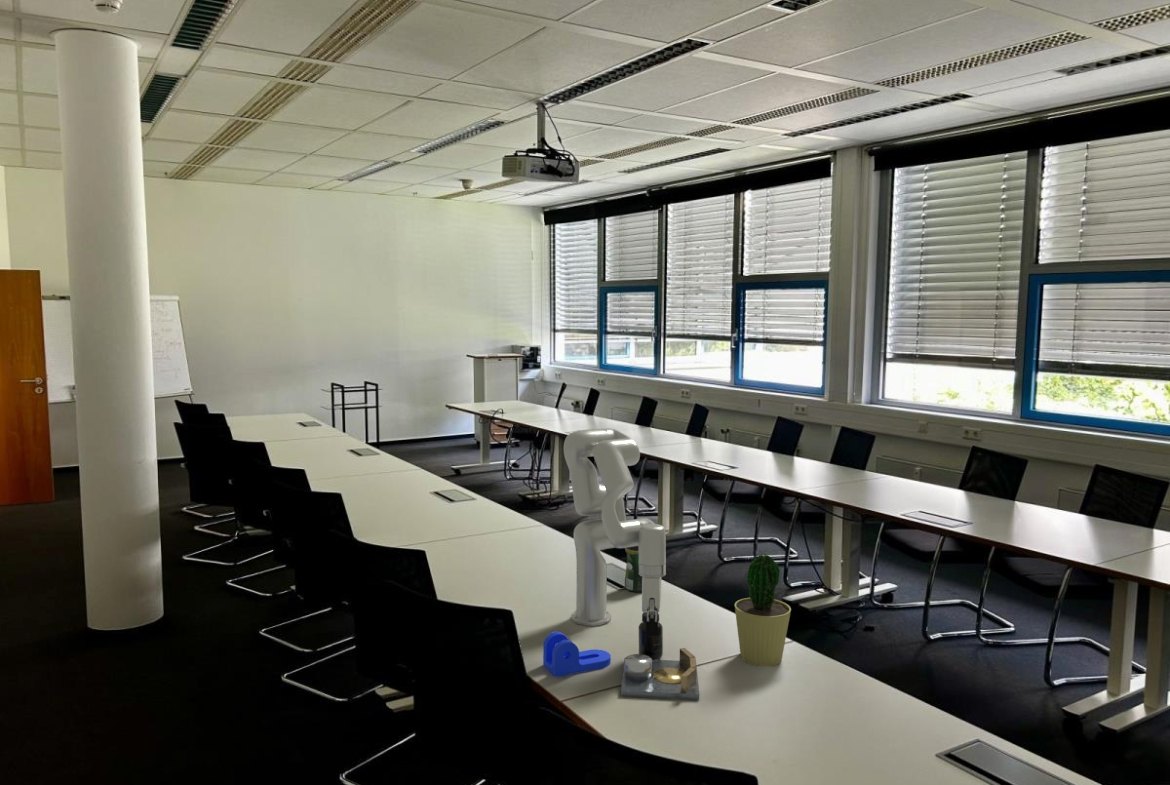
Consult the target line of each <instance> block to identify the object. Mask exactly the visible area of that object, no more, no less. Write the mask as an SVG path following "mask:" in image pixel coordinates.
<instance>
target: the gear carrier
mask: <svg viewBox="0 0 1170 785" xmlns="http://www.w3.org/2000/svg"><path fill="white" fill-rule="evenodd" d="M697 668H698V667H697V659H696V656H695V655H694V654H692V652H690V651H689V650H688V649H686V647H683V648H681V647H680V648H679V660H672V659H671V660H669V659H668V660H667V659H655V660H652V659H651V658H650V657H649V656H646V655H642V654H639V653H635V654H634V653H633V654H630V655H627V656H626V657H624V662H623V670H622V678H621V689H620V696H621V697H627V698H629V697H634V698H652V699H666V700H667V699H668V700H671V699H672V700H686V701H687V700H691V701H692V700H693V701H700V688H699V676H698V669H697Z"/></svg>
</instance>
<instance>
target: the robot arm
mask: <svg viewBox="0 0 1170 785" xmlns="http://www.w3.org/2000/svg"><path fill="white" fill-rule="evenodd" d="M563 455H564V456H563V457H564V460H565V463H566V465H567V468H568V471H569V473H570V480H571V489H572V496H573V503H574V508H575V511H576V513H577V514H578V515H579V516H581V517H583V516H584V517H591V516H598V515H599V516H600V515H601V518H596V519H589V520H588V519H587V520H585V521H584V520H583V521H582V522H580V523H578V524H577V525H576V526H575V527H574V529H573V541H574V548H575V558H576V594H575V595H576V598H575V599H576V602H575V603H576V604H575V605H576V608H575V609H576V610H575V611H573V612H572V613H571V614H570V615H571V618H570V619H571V621H572V622H573V623H576V624H578V625H582V626H587V627H588V626H590V627H594V626H595V627H596V626H597V627H598V626H602V625H605V624H608V623H610V621H612V614H611V613H610V612H609V611H607V584H608V581H607V579H608V576H607V574H608V571H607V570H608V566H607V562H606V559H605V558H604V556H603V555H602V553H601V551H604V550H607V549H614V548H616V549H625V548H627V547H633V546H639V575H640V576H642V591H641V611H642V613H644V612H647V621H646V635H647V636H657V635H658V621H657V613H658V614H659V612H660V609H661V601H662V600H661V599H662V578H663V577H665V576H666V574H667V572H666V571H667V570H666V568H667V566H666V565H667V564H666V563H667V558H666V555H667V553H666V551H667V550H666V549H667V548H666V547H667V546H666V545H667V540H666V534H667V533H666V532H667V531H666V528H665V526H663V524H657V523H655V522H653V521H652V519H650V518H646V517H644V518H643V517H642V518H636V519H628V520H627V517H626V509H625V502H624V496H625V495H627V494H628V493H629V492H631V491H632V489H633V488H634V486H635V485H634V484H635V483H634V480H633V478H632V475H631V472H630V470H629V468H628V466H629V467H631V466H635V465H636V464H637V463H638V462H639V461H640V457H641V451H640V448H639V446H638V444H637V443H636V441H635V440H634V439H633V438H631V437H630V436H628V435H626V434H625V433H623V432H621V431H619V430H617V429H615V428H609V427H608V428H596V429H595V428H594V429H593V428H592V429H591V428H590V429H580V430H576V431H572V432H570V433H568V435H567V436H566V437H565V440H564V443H563ZM588 457H593V458H594V462H595V464H596V466H597V467H596V466H595V465H594V464H593V462H592V461H591V460H590V459H589V458H588ZM596 468H597V469H596ZM597 470H598V472H599V475H598V472H597ZM598 476H600V478H601V480H602V483H599V478H598ZM649 613H650V614H649Z"/></svg>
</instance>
